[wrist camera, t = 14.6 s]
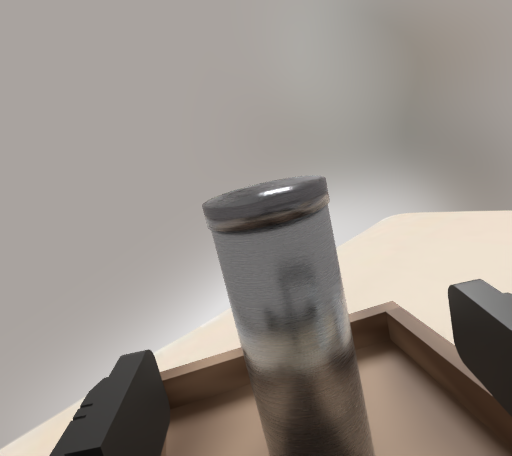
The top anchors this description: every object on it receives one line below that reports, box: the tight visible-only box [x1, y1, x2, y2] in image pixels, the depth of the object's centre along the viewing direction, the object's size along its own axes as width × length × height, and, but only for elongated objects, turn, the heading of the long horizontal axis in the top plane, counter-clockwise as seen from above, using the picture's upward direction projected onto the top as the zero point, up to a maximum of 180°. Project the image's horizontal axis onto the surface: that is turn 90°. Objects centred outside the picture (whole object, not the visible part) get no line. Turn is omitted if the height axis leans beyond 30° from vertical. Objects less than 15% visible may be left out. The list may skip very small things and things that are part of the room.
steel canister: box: [202, 176, 375, 456], centre depth 17 cm, size 5×5×12 cm
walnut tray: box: [160, 301, 512, 456], centre depth 18 cm, size 16×16×2 cm
